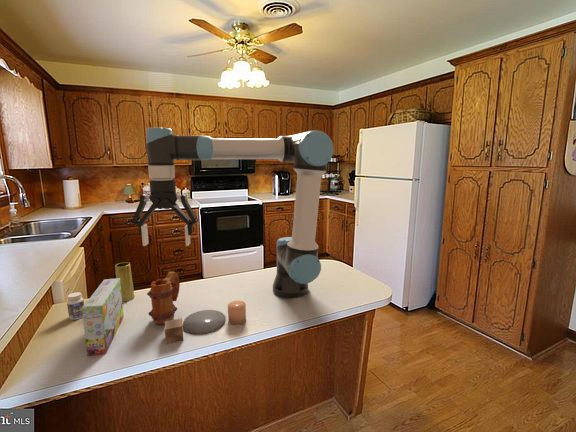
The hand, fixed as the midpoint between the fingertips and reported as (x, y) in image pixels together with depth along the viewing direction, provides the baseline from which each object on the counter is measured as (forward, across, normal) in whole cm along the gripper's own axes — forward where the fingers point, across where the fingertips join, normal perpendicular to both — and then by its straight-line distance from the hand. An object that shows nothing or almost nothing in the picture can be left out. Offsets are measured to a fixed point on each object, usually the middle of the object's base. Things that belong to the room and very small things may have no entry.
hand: (167, 244), depth 98 cm
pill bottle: (+28, +35, -5) cm, 45 cm away
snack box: (+28, +18, +7) cm, 34 cm away
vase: (+28, +24, -19) cm, 42 cm away
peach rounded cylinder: (+28, -22, 0) cm, 35 cm away
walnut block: (+28, -4, +9) cm, 29 cm away
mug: (+28, +3, -4) cm, 28 cm away
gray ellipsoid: (+28, -11, 0) cm, 30 cm away
